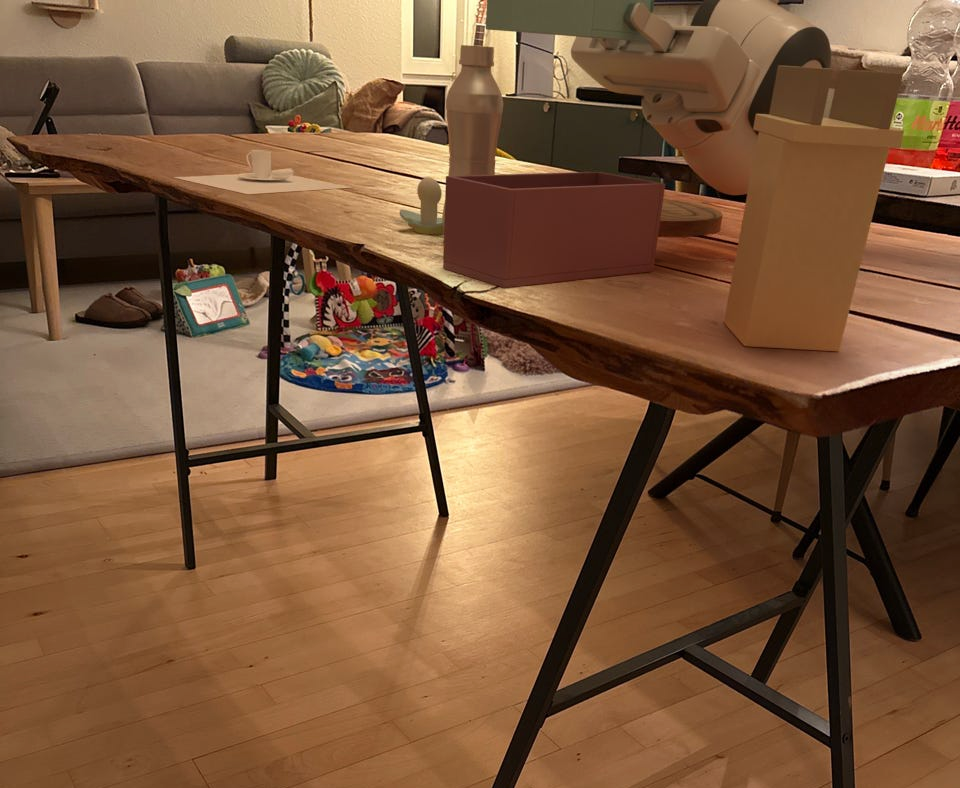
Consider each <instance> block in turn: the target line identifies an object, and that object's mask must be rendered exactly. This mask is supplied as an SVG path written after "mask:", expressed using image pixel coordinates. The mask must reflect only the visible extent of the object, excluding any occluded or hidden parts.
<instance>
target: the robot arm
mask: <svg viewBox="0 0 960 788" xmlns="http://www.w3.org/2000/svg"><path fill="white" fill-rule="evenodd" d="M779 2H780V0H703V1H702V2H701V3H700V5H699V6H698V8H697V10H696V11H695V13H694V15H693V17H692V19H691V22H690V25H677V24H670V23H669V22H668V21H667V20H665V19H663V18H661V17H659V16H657V15H656V14H654V13H653V14H652V13H650V12H649V10H648V9H647V8H646V7H645V5H644V4H643V3H630V4H629V5H628V7H627V10H626V11H625V14H624V17H623V19H624V22H625V23H626V24H627V25H628V27H629V28H630V29H631V30H632V31H638V32H639V33H640V34H641V35H642V36H644V37H645V38H646V39H647V40H648V41H649V42H647V41H628V40H614V39H601V38H588V37H576V36H575V39H574V41H573V43H572V45H571V48H570V56H571V59H572V60H573V61H574V63H576V64H577V66H578V67H579V68H581V69H582V70H583V71H584V73H586V74H587V75H588V76H589V77H591V78H592V79H593V80H594V81H595V82H596V83H598V84H599V85H600V86H602V87H603V88H605V89H606V90H608V91H610V92H613V93H616V94H623V95H632V96H641V111H642V114H643V117H644V118H645V120H646V121H647V122H648V124H650V125H651V127H653V129H654V130H655V131H656V132H657V133H658V134H659V135H660V137H662V138H663V139H664V141H666V142H667V144H668V145H669V146H670V147H672V148H673V149H675V150H677V151H679V152H681V155H682V158H683V160H684V161H685V163H686V164H687V165H688V166H689V168H690V169H691V170H692V171H693V172H694V173H695V174H696V175H698V177H699V178H701V180H703V181H704V182H705V183H706V184H707V185H709V186H710V187H712V188H713V189H715V190H716V191H718V192H720V193H722V194H725V195H729V196H741V195H742V196H743V195H747V193H748V188H749V182H750V177H751V171H752V166H753V160H754V155H755V149H756V144H757V139H758V133H759V131H756V130H753V127H754V121H755V116H756V114H769V112H770V106H771V101H772V96H773V90H774V85H775V80H776V74H777V69H778V66H779V65H781V66H797V67H814V68H830V69H831V64H832V49H831V43H830V40H829V37H828V35H827V34H826V32H825V31H824V30H823V29H822V28H819V27H817V26H816V25H814V24H813V23H811V22H809V21H808V20H806V19H804V18H803V17H801V16H799V15H798V14H795V13H794V12H791V11H788V10H787V9H785V8H783V7H781V6H779V5H778V3H779Z"/></svg>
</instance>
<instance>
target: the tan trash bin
mask: <svg viewBox="0 0 960 788" xmlns="http://www.w3.org/2000/svg"><path fill="white" fill-rule="evenodd" d="M833 72H834V68H831V67H830V68H814V67H797V66H781V65H779V66H778V69H777V74H776V80H775V85H774V90H773V96H772V101H771V106H770V112H769V114H756V116H755V121H754V127H753V130H756V131H759V133H758V139H757V144H756V149H755V155H754V160H753V166H752V171H751V177H750V182H749V188H748V193H747V194H746V199H745V204H744V210H743V215H742V221H741V226H740V233H739V237H738V242H737V243H738V244H737V249H736V254H735V259H734V264H733V270H732V275H731V281H730V287H729V292H728V297H727V301H726V302H727V303H726V308H725V314H724V320H723V324H724V325H725V326H726V327H727V328H728V330H730V331H731V333H732V334H733V335H734V336H735V338H736V339H737V340H738V341H739V342H740V343H741V344H742V346H743V347H748V348H749V347H750V348H751V347H752V348H753V347H754V348H768V349H786V350H787V349H788V350H804V351H805V350H806V351H821V352H840V351H841V350H840V349H841V345H842V341H843V337H844V333H845V329H846V325H847V321H848V317H849V313H850V309H851V306H852V301H853V297H854V294H855V293H854V292H855V289H856V285H857V281H858V277H859V273H860V269H861V265H862V260H863V256H864V252H865V249H866V245H867V241H868V236H869V233H870V229H871V224H872V221H873V217H874V212H875V208H876V204H877V201H878V197H879V193H880V188H881V184H882V180H883V176H884V172H885V168H886V164H887V160H888V155H889V152H890V149H900V148H901V146H902V142H903V138H904V133H905V130H904V129H901V128H897V127H896V128H895V127H891V125H892V121H893V118H894V113H895V108H896V105H897V101H898V97H899V94H900V93H899V92H900V88H901V85H902V80H903V76H904V73H903V72H890V71H873V70H859V69H858V70H857V69H841V68H839V69H838V73H837V78H836V82H835V87H834V92H833V97H832V100H831V101H832V102H831V105H830V110H829V115H828V117H824V114H825V109H826V105H827V100H828V96H829V92H830V86H831V81H832V78H833Z"/></svg>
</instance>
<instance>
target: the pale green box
mask: <svg viewBox="0 0 960 788" xmlns="http://www.w3.org/2000/svg"><path fill="white" fill-rule="evenodd" d="M630 3H643V4H644V5H645V7H646V8H647V9H648V10H649V12H650V13H652V14H654V5H655V0H486V14H485V15H486V16H485V18H486V19H485V29H486V30H487V31H488V30H489V31H502V32H514V33H524V34H525V33H526V34H536V35H537V34H538V35H552V36H565V37H575V38H576V37H588V38H601V39H614V40H628V41H647V42H649V41H648V40H647V39H646V38H645V37H644V36H642V35H641V34H640V33H639V32H638V31H632V30H631V29H630V28H629V27H628V25H627V24H626V23H625V22H624V19H623V17H624V14H625V11H626V10H627V7H628V5H629V4H630Z"/></svg>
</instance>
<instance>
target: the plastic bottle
mask: <svg viewBox="0 0 960 788" xmlns="http://www.w3.org/2000/svg"><path fill="white" fill-rule="evenodd" d="M494 55H495V47H493V46H481V45H469V44H467V45H466V44H465V45H464V44H461V45H460V54H459V56H460V57H459V59H458V64H459V65H461V69H460V72H459V73H458V75H457V76H456V78H455V79H454V81H453V82H452V84H451V86H450V88H449V89H448V91H447V95H446V99H445V111H446V119H447V120H446V123H447V133H448V153H449V157H448V174H447V176H461V175H496V156H497V151H498V140H499V135H500V129H501V122H502V117H503V116H502V114H503V112H504V100H503V95H502V92H501V89H500V87H499V85H498V83H497V81H496V79H495V78H494V75H493V74H492V67H495V61H494V57H495V56H494ZM441 218H442V221H443V230H444V221H445V202H444V203H443V210H442V216H441Z"/></svg>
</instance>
